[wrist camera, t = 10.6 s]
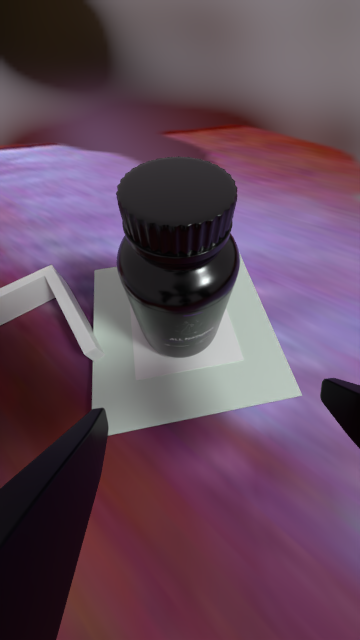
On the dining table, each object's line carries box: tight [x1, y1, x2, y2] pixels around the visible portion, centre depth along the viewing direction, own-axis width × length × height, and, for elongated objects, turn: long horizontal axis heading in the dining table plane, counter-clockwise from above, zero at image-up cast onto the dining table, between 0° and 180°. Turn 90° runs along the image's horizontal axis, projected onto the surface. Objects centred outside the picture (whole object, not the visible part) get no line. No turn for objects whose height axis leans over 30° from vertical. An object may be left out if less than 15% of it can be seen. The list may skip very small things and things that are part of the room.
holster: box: [0, 265, 105, 362], centre depth 17 cm, size 10×12×3 cm
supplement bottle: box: [116, 157, 240, 358], centre depth 13 cm, size 7×7×12 cm
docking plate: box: [92, 253, 302, 436], centre depth 19 cm, size 16×16×1 cm
